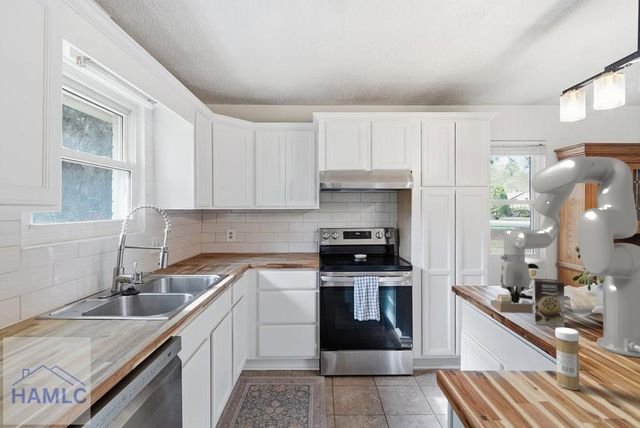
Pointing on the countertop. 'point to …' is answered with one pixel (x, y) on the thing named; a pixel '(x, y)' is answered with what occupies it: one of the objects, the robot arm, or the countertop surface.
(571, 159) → the robot arm
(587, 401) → the countertop surface
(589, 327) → the countertop surface
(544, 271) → the milk container
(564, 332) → the sprinkles bottle
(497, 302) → the trap board
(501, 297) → the maple cube
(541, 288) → the cookie box
